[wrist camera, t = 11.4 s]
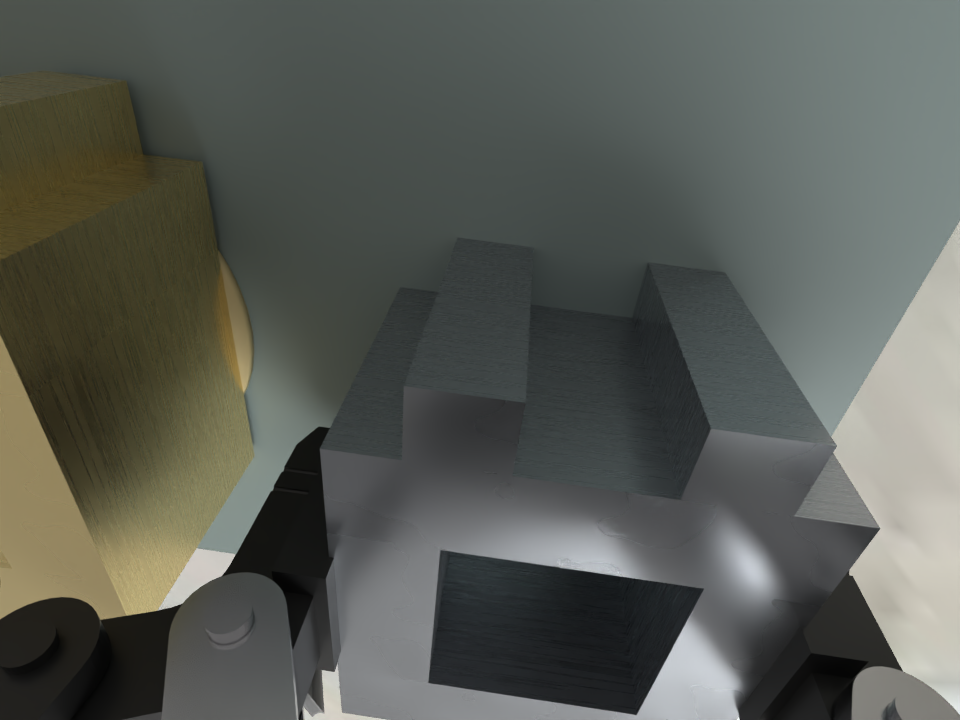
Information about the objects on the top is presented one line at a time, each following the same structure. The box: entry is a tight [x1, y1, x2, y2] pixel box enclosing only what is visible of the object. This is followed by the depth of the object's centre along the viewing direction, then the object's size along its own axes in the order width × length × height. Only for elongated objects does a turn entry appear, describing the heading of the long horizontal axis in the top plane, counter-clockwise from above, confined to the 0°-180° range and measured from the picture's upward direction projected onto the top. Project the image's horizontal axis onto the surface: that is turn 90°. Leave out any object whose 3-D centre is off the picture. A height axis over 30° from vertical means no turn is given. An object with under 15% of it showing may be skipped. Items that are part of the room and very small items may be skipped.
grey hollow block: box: [320, 238, 880, 720], centre depth 9 cm, size 6×8×4 cm
